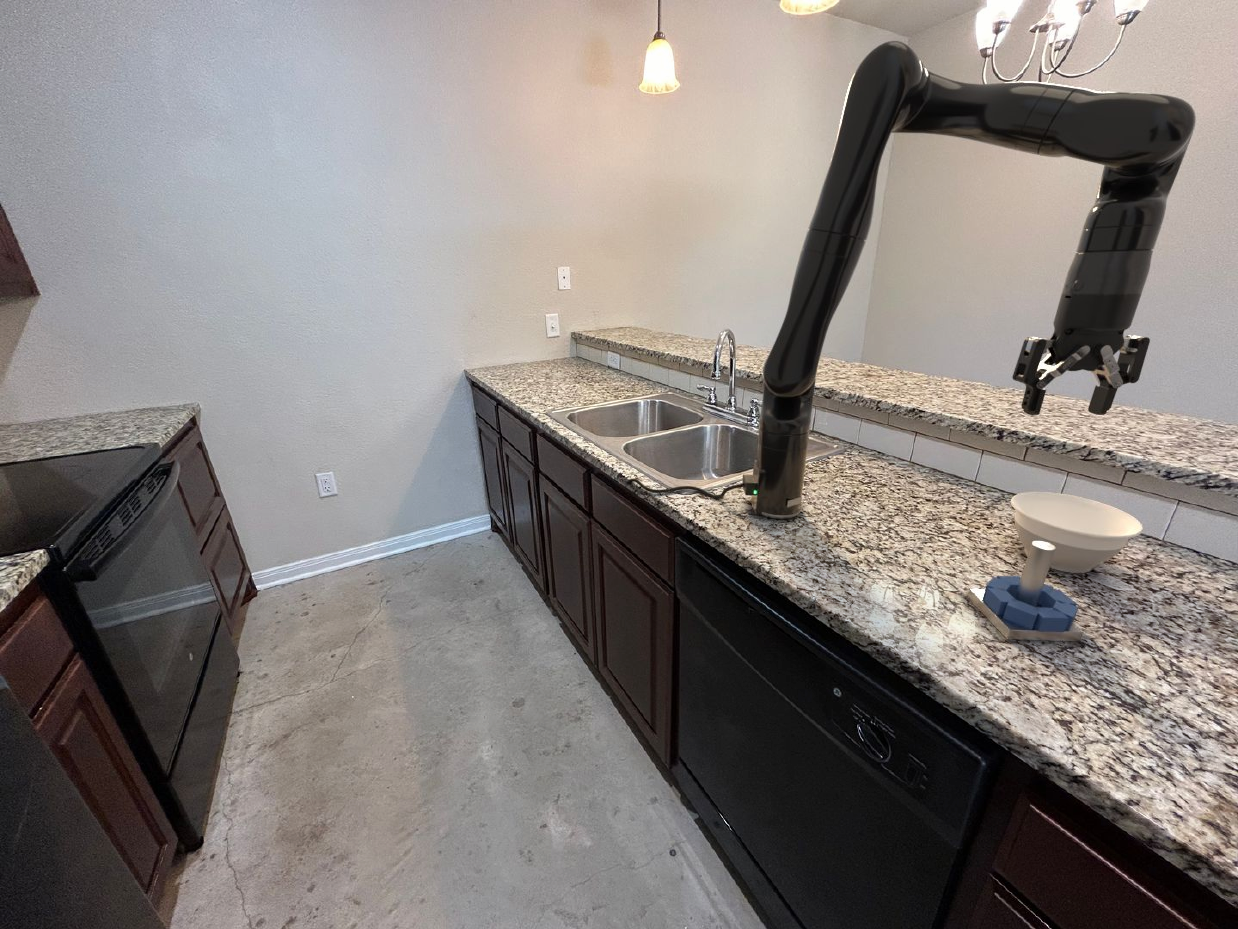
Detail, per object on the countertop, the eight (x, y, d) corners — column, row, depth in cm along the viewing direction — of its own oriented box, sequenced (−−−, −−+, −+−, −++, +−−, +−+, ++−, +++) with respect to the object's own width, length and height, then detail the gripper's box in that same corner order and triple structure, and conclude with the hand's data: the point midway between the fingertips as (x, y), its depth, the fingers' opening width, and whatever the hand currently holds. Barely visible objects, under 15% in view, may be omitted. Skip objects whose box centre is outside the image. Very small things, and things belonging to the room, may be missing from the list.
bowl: (1008, 525, 93) (1020, 483, 90) (1126, 557, 82) (1145, 510, 79) (988, 559, 82) (1001, 513, 79) (1120, 600, 72) (1142, 548, 69)
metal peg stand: (1006, 639, 65) (1031, 563, 61) (967, 597, 73) (986, 528, 69) (1080, 641, 64) (1110, 565, 60) (1032, 598, 72) (1055, 529, 68)
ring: (1012, 630, 64) (1017, 616, 63) (970, 587, 73) (974, 575, 72) (1090, 633, 63) (1096, 619, 62) (1039, 589, 72) (1043, 576, 71)
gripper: (1135, 287, 66) (1095, 406, 72) (1021, 290, 67) (992, 407, 73) (1191, 289, 59) (1142, 421, 65) (1063, 292, 60) (1027, 421, 66)
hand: (1062, 413), depth 69 cm, fingers open, 8 cm apart
